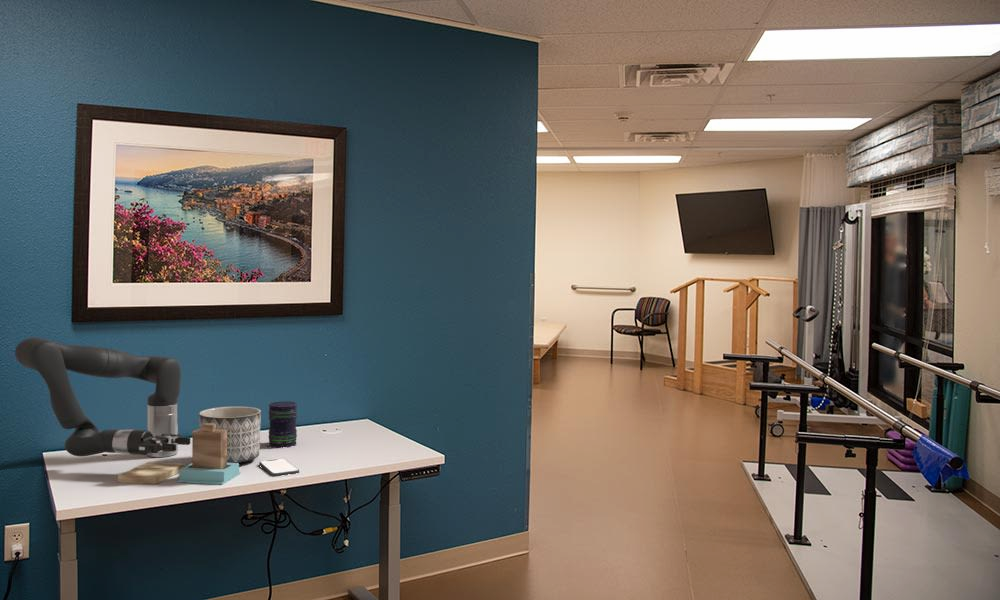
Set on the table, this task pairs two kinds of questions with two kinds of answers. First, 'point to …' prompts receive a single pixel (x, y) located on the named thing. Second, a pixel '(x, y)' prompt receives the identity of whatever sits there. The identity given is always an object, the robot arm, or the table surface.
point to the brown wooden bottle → (209, 448)
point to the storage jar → (282, 424)
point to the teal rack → (208, 474)
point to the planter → (236, 430)
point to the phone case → (278, 467)
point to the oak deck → (150, 473)
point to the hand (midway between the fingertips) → (182, 444)
